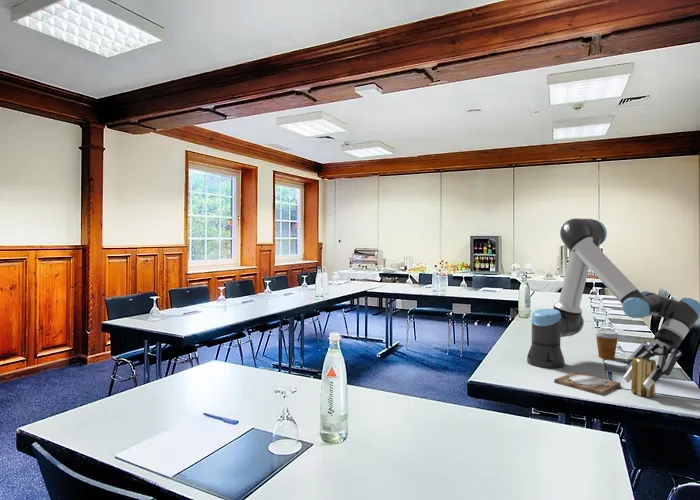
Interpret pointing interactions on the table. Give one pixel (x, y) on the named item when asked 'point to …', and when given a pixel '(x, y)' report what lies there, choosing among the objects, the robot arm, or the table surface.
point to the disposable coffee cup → (606, 343)
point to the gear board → (587, 383)
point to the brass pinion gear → (642, 376)
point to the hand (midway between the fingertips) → (635, 383)
